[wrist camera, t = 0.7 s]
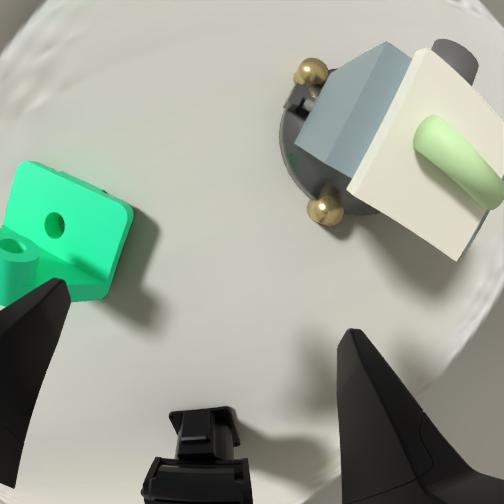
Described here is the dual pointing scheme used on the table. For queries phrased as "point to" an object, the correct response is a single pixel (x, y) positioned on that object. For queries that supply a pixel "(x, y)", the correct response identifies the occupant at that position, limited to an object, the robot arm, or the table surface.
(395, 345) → the table surface
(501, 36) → the table surface
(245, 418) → the table surface
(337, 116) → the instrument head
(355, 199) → the tribrach base
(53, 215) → the camera mount
